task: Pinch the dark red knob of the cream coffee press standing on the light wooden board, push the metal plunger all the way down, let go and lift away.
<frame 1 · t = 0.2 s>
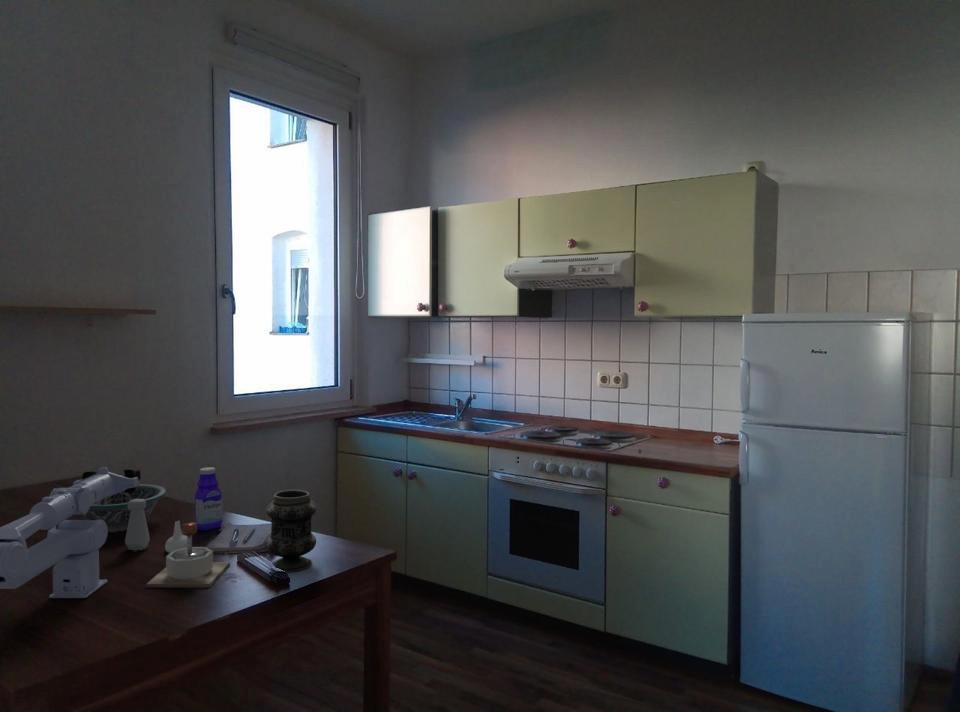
hand: (123, 474, 173), 21 cm above the table, tool horizontal, fingers open, 7 cm apart
plunger: (189, 540, 163), point 9 cm above the table, slide at 0.0 cm
press carafe: (189, 563, 163), on the board, point 3 cm above the table
bowl: (119, 527, 200), on the table
board: (190, 575, 163), on the table
salt shaker: (137, 549, 182), on the table
apothecary jar: (291, 566, 171), on the table
garlic bulb: (178, 551, 181), on the table
bottle: (208, 528, 200), on the table
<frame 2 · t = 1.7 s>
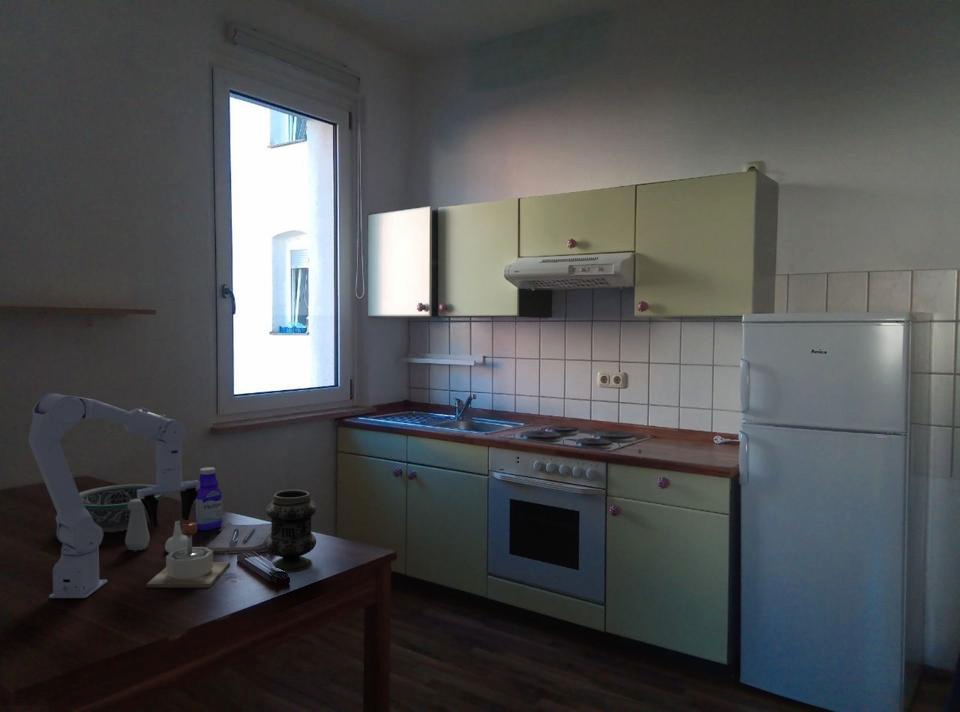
hand: (169, 522, 170), 10 cm above the table, tool pointing down, fingers open, 7 cm apart
nothing on the table moved.
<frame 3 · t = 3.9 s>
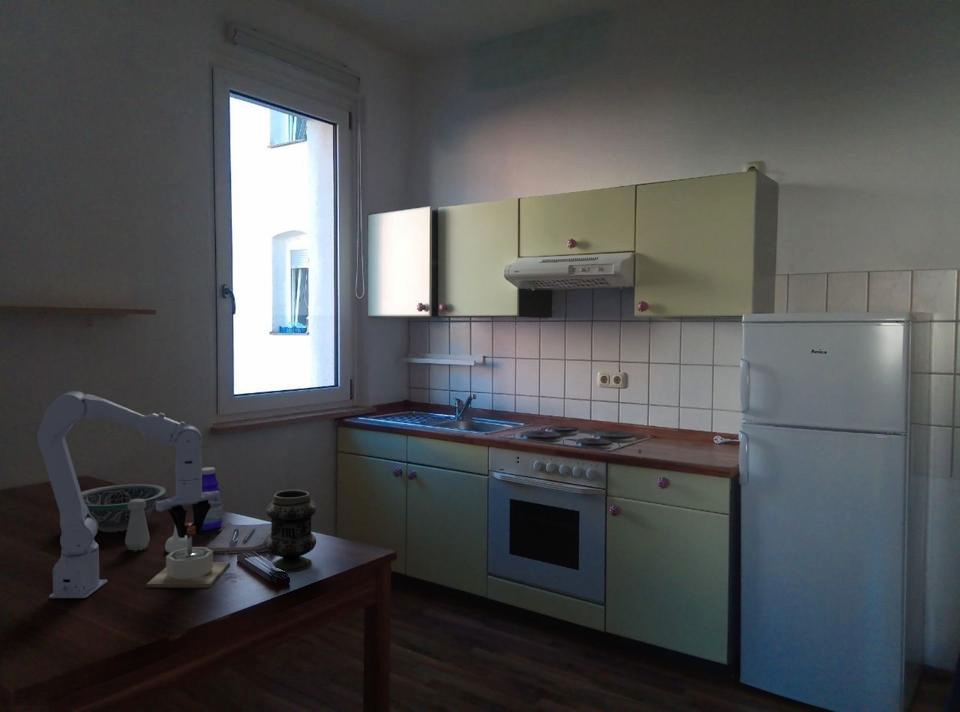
hand: (189, 535, 163), 10 cm above the table, tool pointing down, fingers closed on plunger, 3 cm apart
plunger: (189, 540, 163), point 8 cm above the table, slide at 0.0 cm, touching gripper
everything else where it was.
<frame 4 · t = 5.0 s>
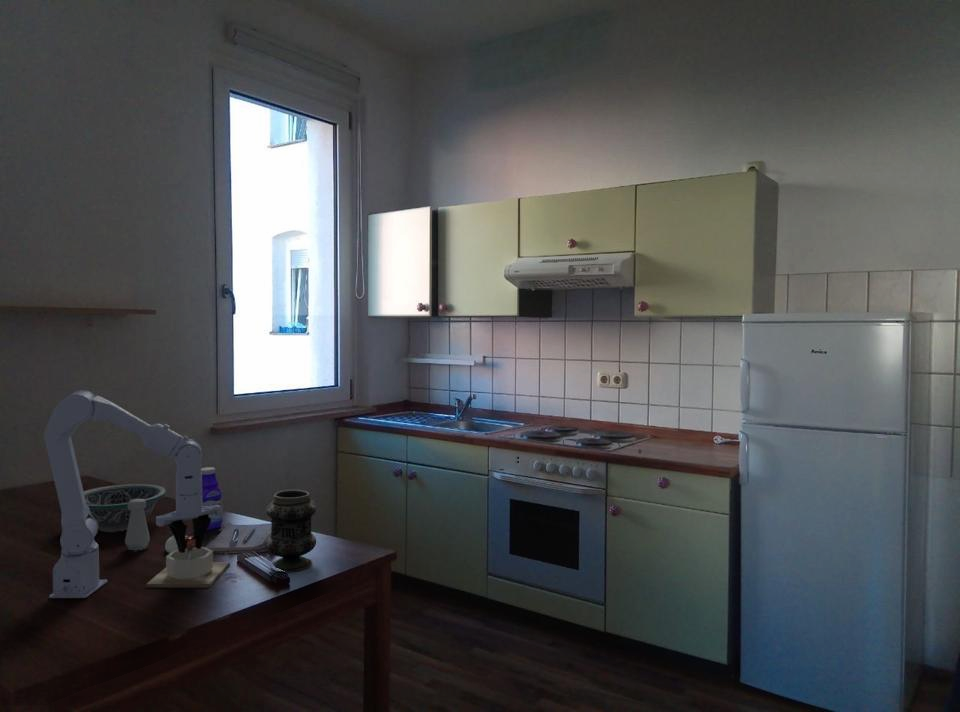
hand: (189, 549, 163), 6 cm above the table, tool pointing down, fingers closed on plunger, 3 cm apart
plunger: (189, 554, 163), point 5 cm above the table, slide at 3.3 cm, touching gripper
everything else where it was.
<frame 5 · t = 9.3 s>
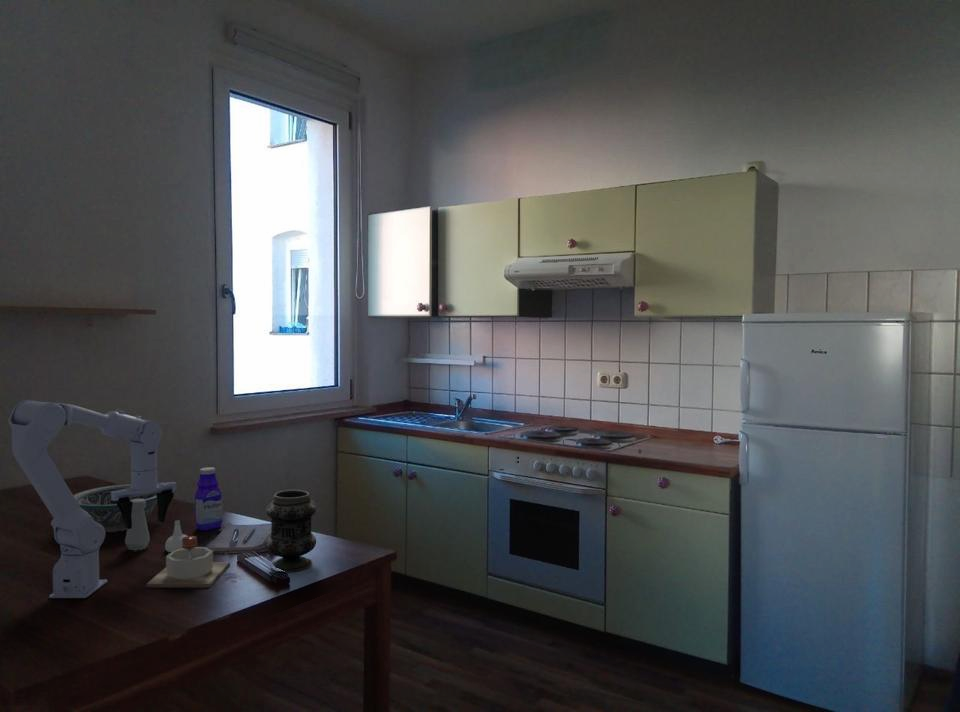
hand: (145, 524, 168), 10 cm above the table, tool pointing down, fingers open, 7 cm apart
plunger: (189, 554, 163), point 5 cm above the table, slide at 3.3 cm
everything else where it was.
at the end: plunger slide at 3.3 cm; the gripper is holding nothing; garlic bulb moved 0.7 cm from its start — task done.
